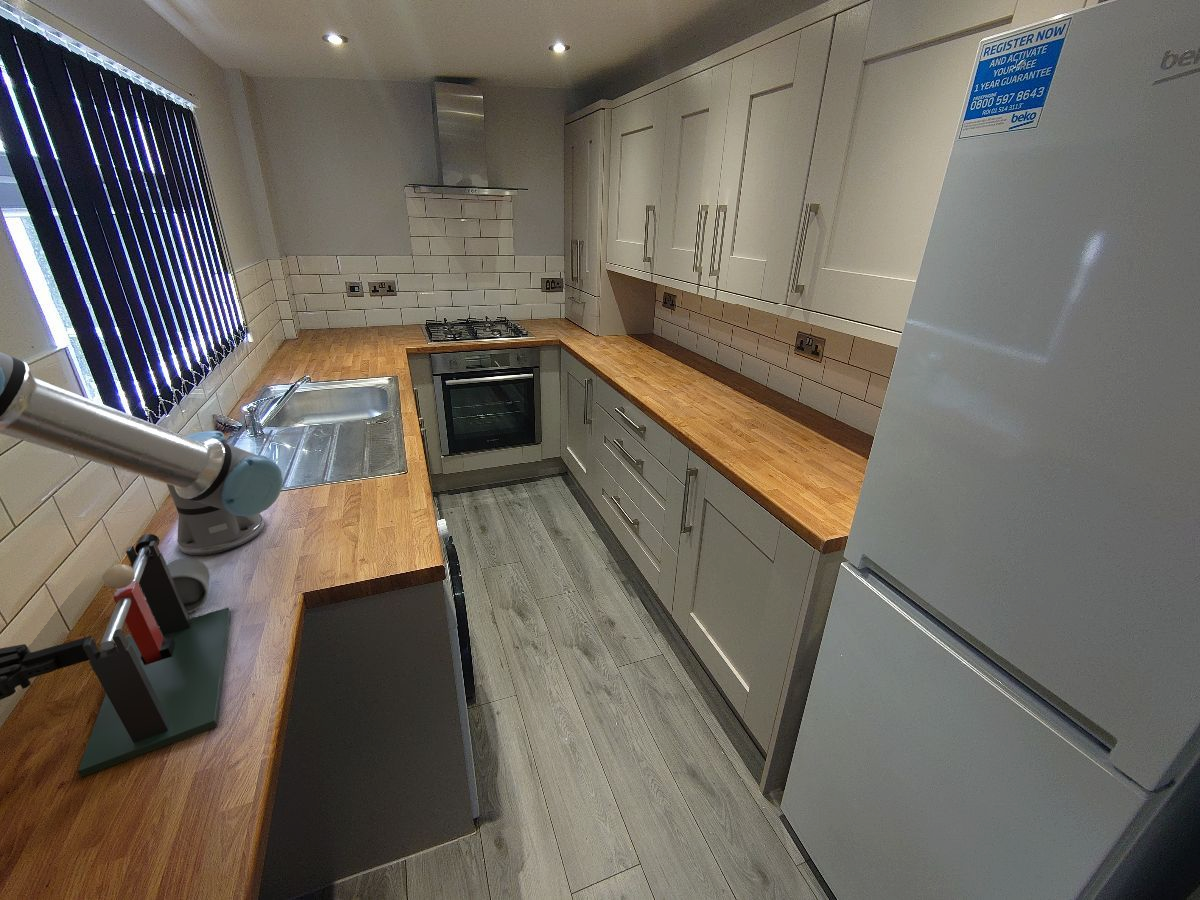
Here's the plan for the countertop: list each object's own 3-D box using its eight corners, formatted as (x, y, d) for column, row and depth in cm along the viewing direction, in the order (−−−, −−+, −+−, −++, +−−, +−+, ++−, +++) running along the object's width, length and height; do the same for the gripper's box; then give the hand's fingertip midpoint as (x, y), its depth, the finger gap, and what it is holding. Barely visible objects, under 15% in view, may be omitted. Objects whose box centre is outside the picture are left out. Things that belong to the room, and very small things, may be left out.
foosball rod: (161, 599, 87) (125, 519, 81) (187, 592, 89) (154, 512, 82) (125, 717, 66) (73, 621, 60) (160, 705, 68) (113, 610, 62)
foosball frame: (128, 642, 85) (84, 553, 78) (230, 612, 91) (197, 527, 84) (81, 777, 64) (14, 672, 57) (217, 726, 70) (172, 626, 63)
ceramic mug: (215, 581, 99) (201, 547, 96) (214, 605, 93) (198, 570, 90) (144, 603, 94) (127, 568, 91) (138, 630, 88) (119, 593, 84)
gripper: (-119, 706, 68) (115, 637, 78) (-191, 793, 57) (90, 701, 68) (-154, 662, 65) (95, 597, 75) (-237, 746, 54) (65, 657, 65)
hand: (92, 646), depth 71 cm, fingers closed
